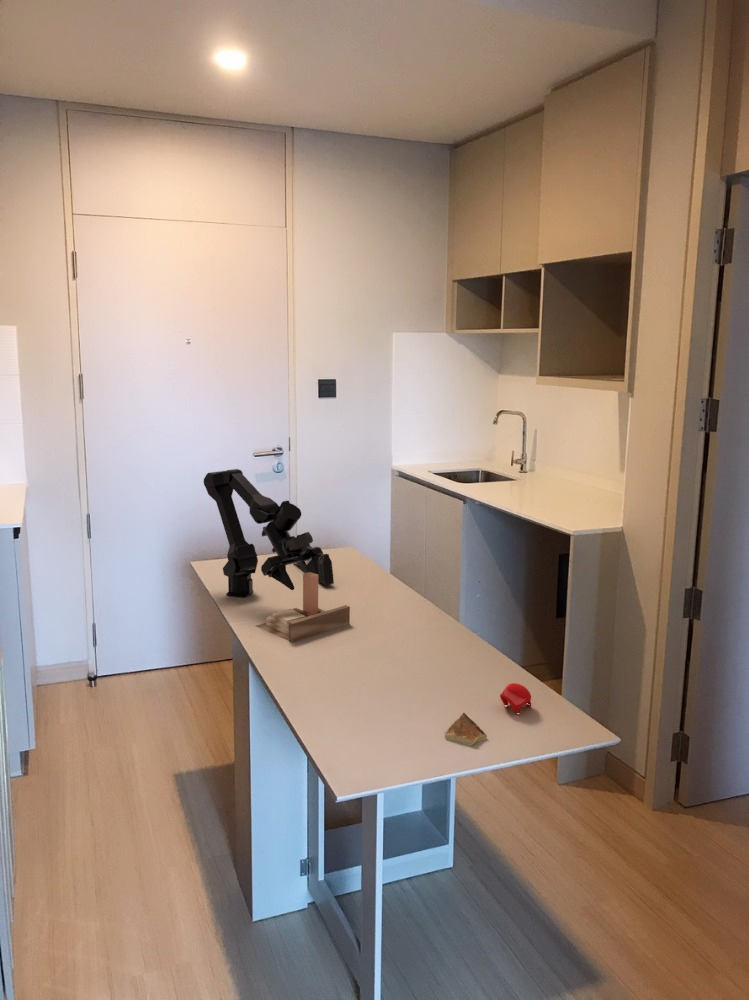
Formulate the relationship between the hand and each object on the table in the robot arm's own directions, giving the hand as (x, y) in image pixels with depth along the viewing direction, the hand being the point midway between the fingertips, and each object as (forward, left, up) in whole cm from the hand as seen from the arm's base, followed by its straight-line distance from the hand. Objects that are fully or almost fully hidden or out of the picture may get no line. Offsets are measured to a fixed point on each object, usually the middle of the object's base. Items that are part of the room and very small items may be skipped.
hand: (306, 586), depth 221 cm
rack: (+1, -6, -10) cm, 12 cm away
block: (+2, -1, -9) cm, 9 cm away
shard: (+51, -51, -11) cm, 73 cm away
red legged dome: (+62, -37, -10) cm, 73 cm away
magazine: (-13, +42, -11) cm, 45 cm away
